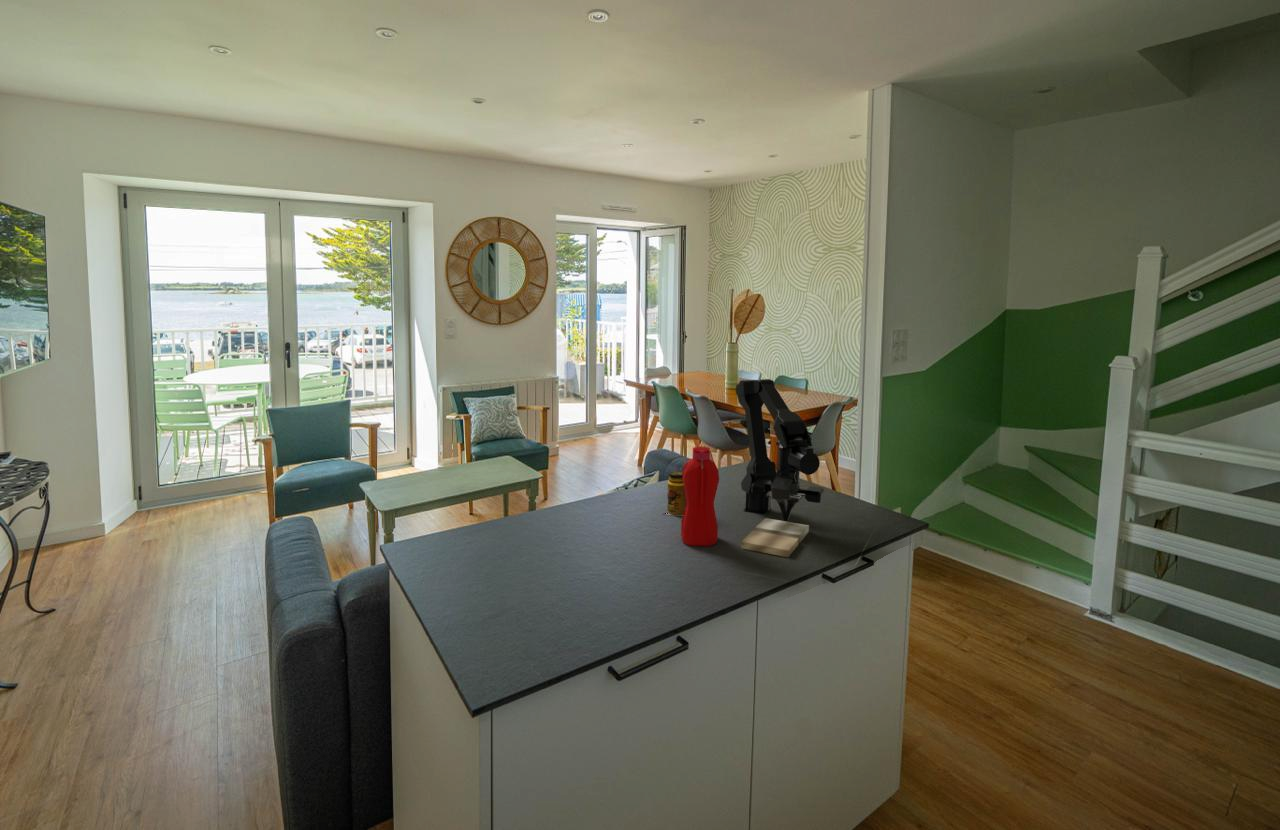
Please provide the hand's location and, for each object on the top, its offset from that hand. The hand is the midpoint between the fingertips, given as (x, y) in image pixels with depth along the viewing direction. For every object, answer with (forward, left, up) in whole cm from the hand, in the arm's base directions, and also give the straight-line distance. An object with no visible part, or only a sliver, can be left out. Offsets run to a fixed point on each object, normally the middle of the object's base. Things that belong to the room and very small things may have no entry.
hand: (786, 520), depth 177 cm
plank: (0, -3, -3) cm, 4 cm away
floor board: (0, -14, -3) cm, 14 cm away
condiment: (-32, 0, -3) cm, 32 cm away
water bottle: (-17, -20, -3) cm, 26 cm away
